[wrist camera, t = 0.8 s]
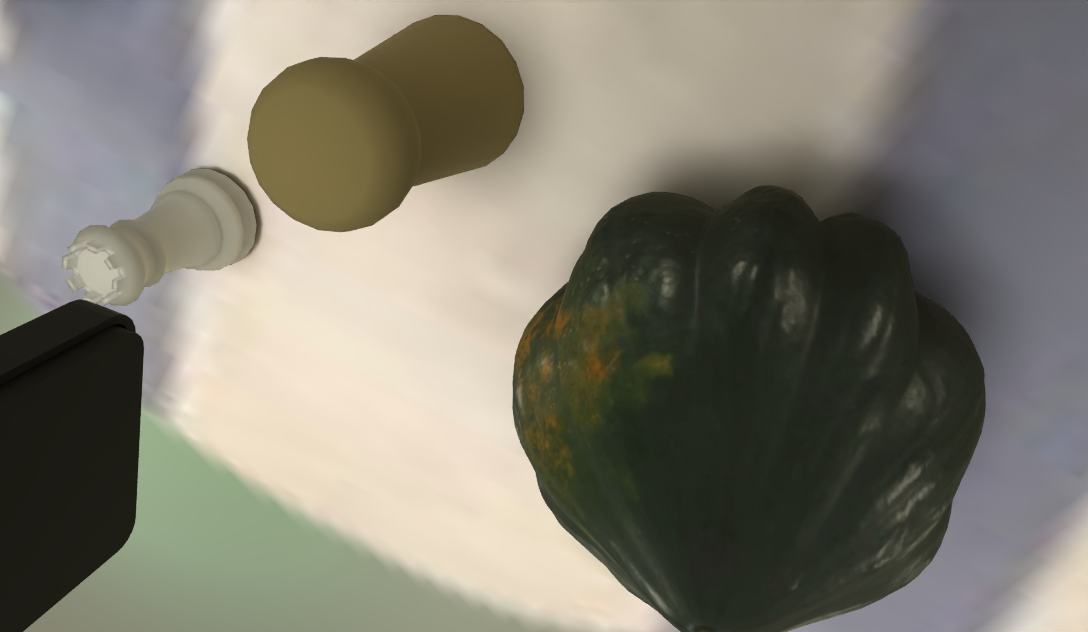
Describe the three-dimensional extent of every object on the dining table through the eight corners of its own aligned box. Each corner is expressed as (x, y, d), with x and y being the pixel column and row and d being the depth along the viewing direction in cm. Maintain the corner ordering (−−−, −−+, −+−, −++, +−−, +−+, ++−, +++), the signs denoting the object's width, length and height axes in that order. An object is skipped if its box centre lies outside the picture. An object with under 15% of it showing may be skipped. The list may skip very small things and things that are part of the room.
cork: (555, 100, 35) (443, 169, 26) (455, 201, 38) (319, 297, 28) (445, -21, 35) (288, 1, 25) (351, 90, 38) (178, 150, 28)
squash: (739, 18, 27) (447, 443, 22) (1158, 311, 27) (965, 799, 22) (607, 206, 40) (406, 498, 35) (889, 402, 41) (730, 720, 36)
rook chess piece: (164, 228, 43) (29, 288, 36) (191, 146, 41) (53, 193, 34) (244, 280, 43) (124, 351, 36) (275, 200, 41) (154, 259, 34)
